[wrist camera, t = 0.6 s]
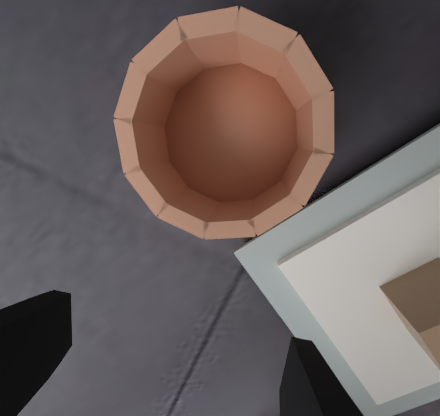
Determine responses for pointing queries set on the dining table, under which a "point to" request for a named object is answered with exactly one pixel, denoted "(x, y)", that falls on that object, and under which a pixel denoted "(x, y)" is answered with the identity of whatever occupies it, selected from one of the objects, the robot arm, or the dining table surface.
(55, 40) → the dining table surface
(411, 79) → the dining table surface
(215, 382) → the dining table surface
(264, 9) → the dining table surface
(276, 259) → the mat
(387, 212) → the cover sheet
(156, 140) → the bowl
